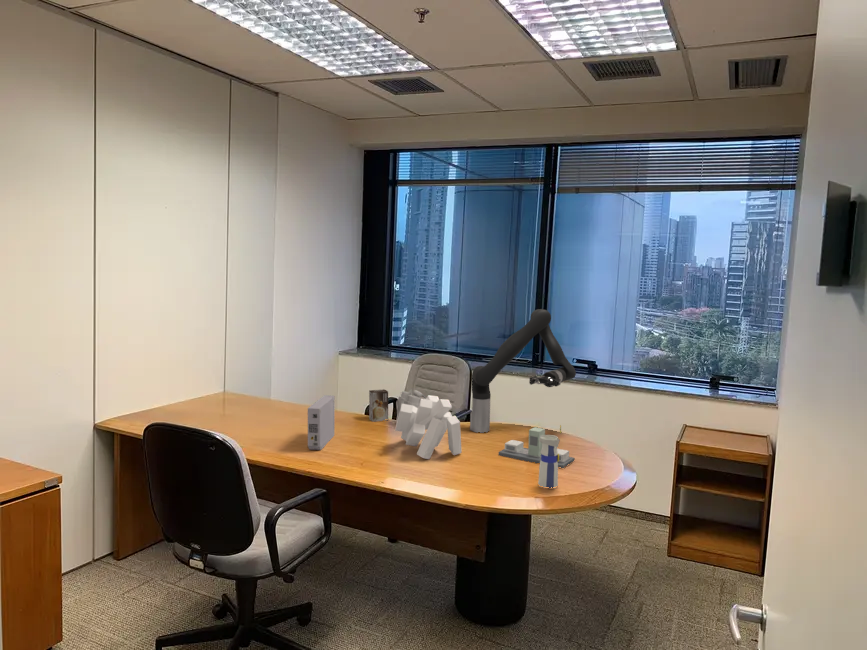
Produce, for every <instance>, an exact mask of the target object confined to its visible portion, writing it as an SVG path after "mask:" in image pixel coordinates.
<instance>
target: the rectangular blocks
mask: <svg viewBox="0 0 867 650" xmlns="http://www.w3.org/2000/svg"><path fill="white" fill-rule="evenodd" d="M523 448H524V441H519V440H515V439H511V440H509V441H506V442H505V443H504V449H505V450H508V451H513V452H518V451H520V450H521V449H523ZM557 451H558V453H559V461H562V462H563V461H565V460H566V459H568V458H569V457H570V450H567V449H562V448H561V449H560V448H557Z"/></svg>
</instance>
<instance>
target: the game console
mask: <svg viewBox="0 0 867 650" xmlns="http://www.w3.org/2000/svg"><path fill="white" fill-rule="evenodd" d="M334 436H335V395H327V394H323V396H321V397H320V398H319V399H317V400H316V401H315V402H314V403H313V404H311V405H310V406H309V407H307V447H308V450H313V451H314V450H315V451H316V450H317V451H322V450H323V448H324V447H325V446H326V445H327V444H328V443H329V442H330V441H331V440H332V439H333V438H334Z"/></svg>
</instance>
